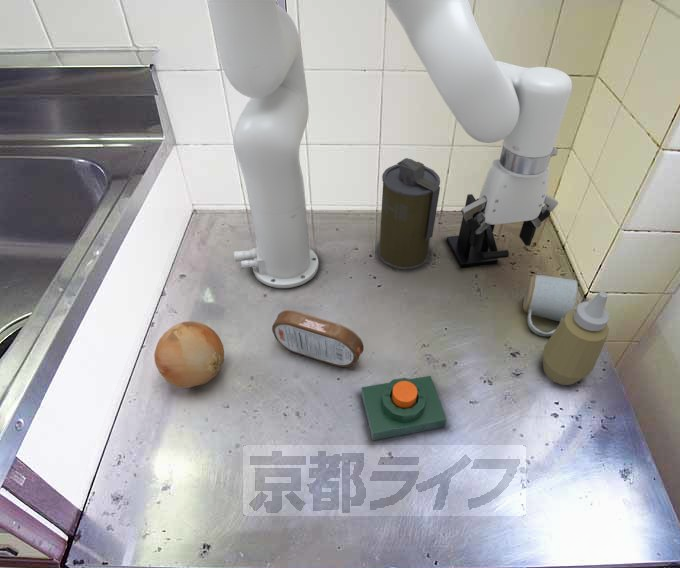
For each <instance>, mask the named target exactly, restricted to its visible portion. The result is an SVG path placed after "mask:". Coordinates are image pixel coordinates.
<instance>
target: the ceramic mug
mask: <svg viewBox="0 0 680 568" xmlns="http://www.w3.org/2000/svg"><path fill="white" fill-rule="evenodd" d="M578 285H579V284H578V281H577V280H576V279H570V278H563V277H556V276H550V275H543V274H534V275H531V276H530V277H529V279H528V283H527V285H526V287H525V288H526V289H525V293H524V298H523V303H522V308H523V311H524V312H526V313H527V324H528V328H529V329H530V330H531V331H532V332H533V333H534V334H536V335H538V336H541V337H551V336H552V334H553V333H554V331H555V330H556V329H557V327H556V328H555V329H553V330H551V331H548V332H545V331H542V330H540V329H539V328H538V327H536V326H535V325H534V324H533V321H532V315H533V316H535V317H536V316H537V317H542V318H545V319H547V320H548V319H549V320H552V321H556V322H559V324H560V323H561V321H562V320H563V318H564V317H565V315H566V314H567V313H568V312H569V311H572V310H575V309H574V308H575V305H576V303H577V302H576V301H577V296H578V291H579V289H578V287H579V286H578ZM559 324H558V325H559Z"/></svg>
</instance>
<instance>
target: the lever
mask: <svg viewBox="0 0 680 568" xmlns="http://www.w3.org/2000/svg"><path fill="white" fill-rule="evenodd" d="M475 199H476V201H477V200H479V198H475ZM479 213H480V211H479ZM483 221H484V219H483V220H482V222H483ZM484 231H485V235H486V239H487V242H488V246H489V250H490V252H482V253H481V259H482V260H490V259H498V260H499V259H506V258H509V256H510V252H509V250H508V249H501V250H498V247H497V243H496V239H495V236H494V231H493V232H492V228H491V225H489V226H488V227H487V228H486V229H485V230H484Z"/></svg>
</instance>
